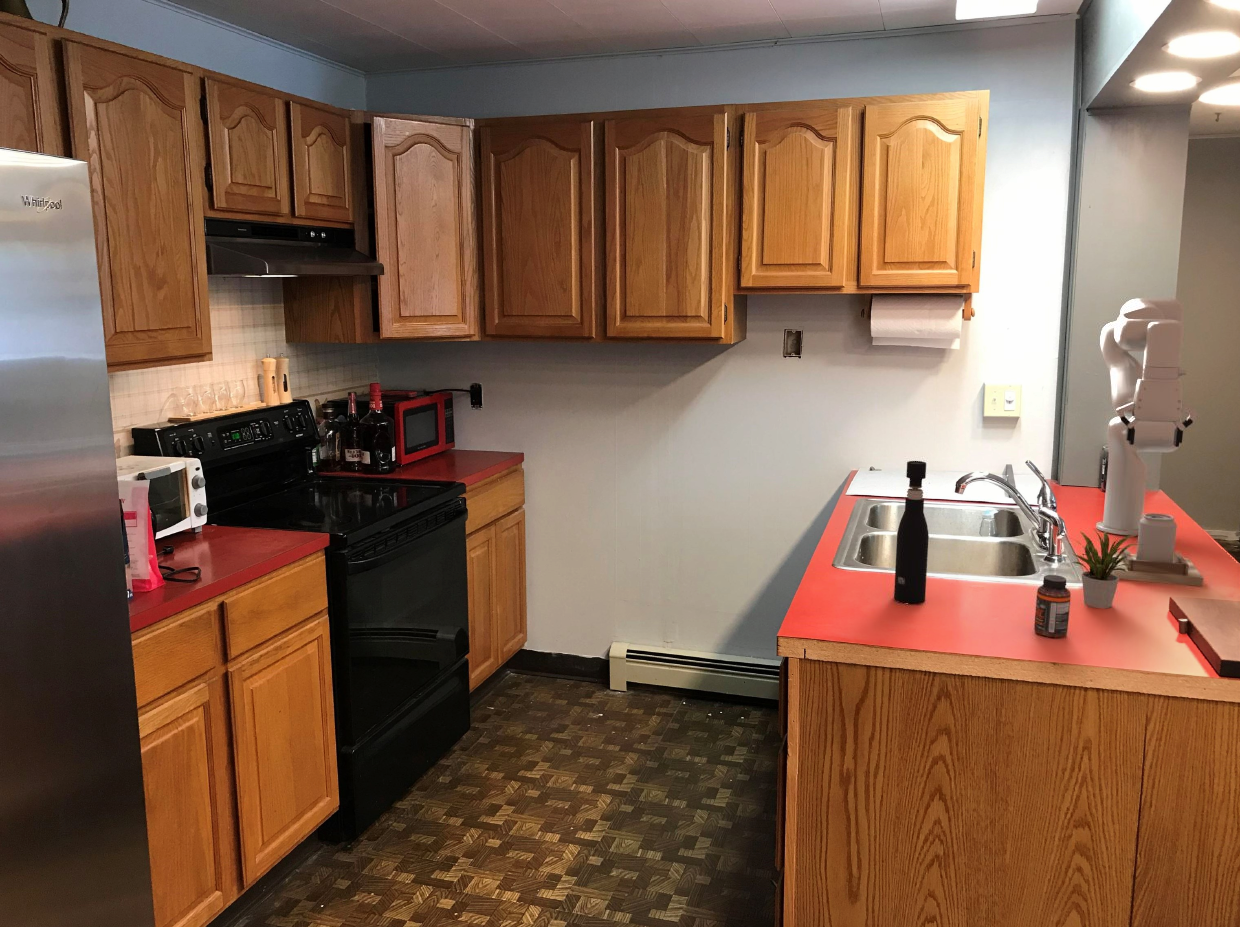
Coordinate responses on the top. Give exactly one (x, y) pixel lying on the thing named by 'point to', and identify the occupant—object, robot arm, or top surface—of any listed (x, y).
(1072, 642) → the top surface
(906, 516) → the black insulated water bottle
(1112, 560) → the house plant
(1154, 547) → the can
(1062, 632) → the supplement bottle
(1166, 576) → the dock
